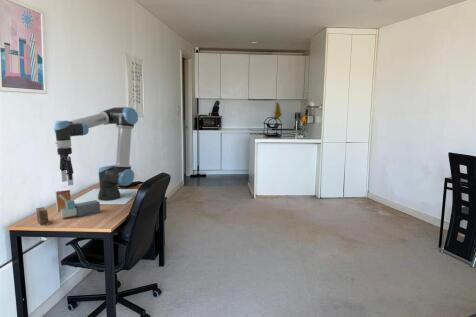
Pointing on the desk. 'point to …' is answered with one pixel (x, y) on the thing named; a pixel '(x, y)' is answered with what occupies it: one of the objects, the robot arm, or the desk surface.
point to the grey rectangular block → (88, 208)
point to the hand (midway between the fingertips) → (67, 183)
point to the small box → (62, 197)
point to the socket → (42, 215)
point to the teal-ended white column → (69, 209)
